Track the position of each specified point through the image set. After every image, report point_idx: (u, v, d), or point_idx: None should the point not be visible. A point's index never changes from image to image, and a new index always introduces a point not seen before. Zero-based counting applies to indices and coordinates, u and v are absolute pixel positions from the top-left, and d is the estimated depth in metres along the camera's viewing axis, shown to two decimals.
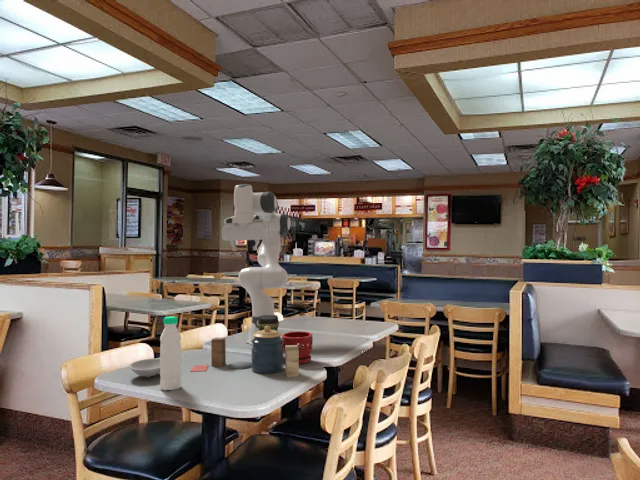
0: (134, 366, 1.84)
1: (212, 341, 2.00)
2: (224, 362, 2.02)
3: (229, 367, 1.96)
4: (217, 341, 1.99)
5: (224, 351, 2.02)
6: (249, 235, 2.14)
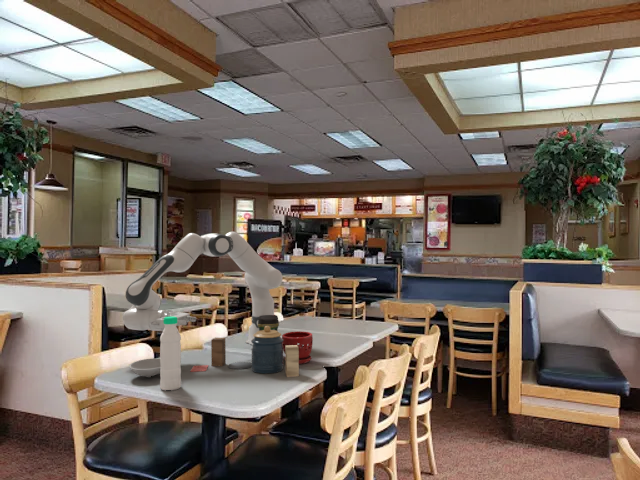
0: (134, 366, 1.84)
1: (212, 341, 2.00)
2: (224, 362, 2.02)
3: (229, 367, 1.96)
4: (217, 341, 1.99)
5: (224, 351, 2.02)
6: None
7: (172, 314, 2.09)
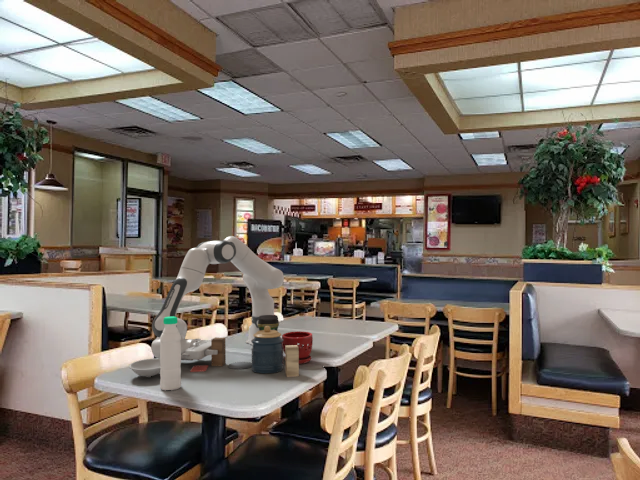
0: (134, 366, 1.84)
1: (212, 341, 2.00)
2: (224, 362, 2.02)
3: (229, 367, 1.96)
4: (217, 341, 1.99)
5: (224, 351, 2.02)
6: None
7: (200, 343, 2.07)
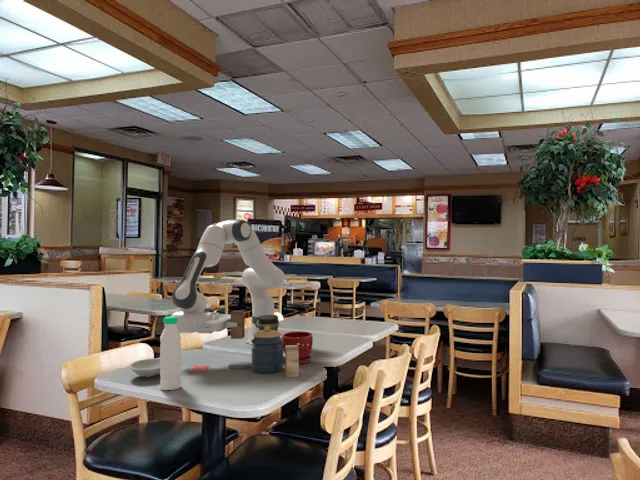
0: (134, 366, 1.84)
1: (231, 314, 1.98)
2: (243, 335, 2.00)
3: (229, 367, 1.96)
4: (236, 313, 1.98)
5: (243, 324, 2.01)
6: None
7: (219, 316, 2.05)
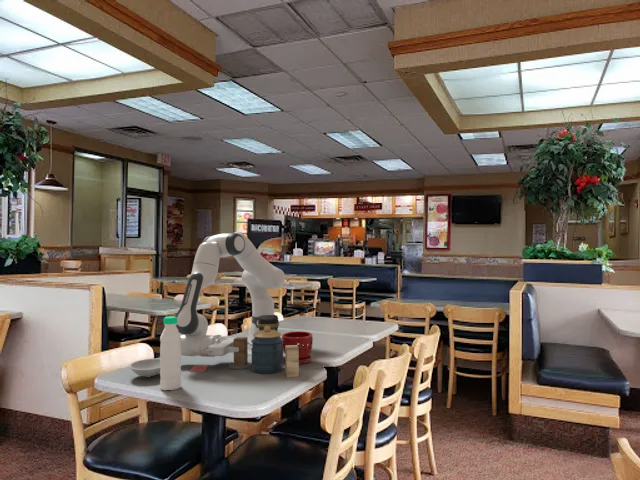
0: (134, 366, 1.84)
1: (234, 340, 1.97)
2: (246, 362, 2.00)
3: (229, 367, 1.96)
4: (239, 340, 1.97)
5: (246, 350, 2.00)
6: None
7: (222, 339, 2.05)
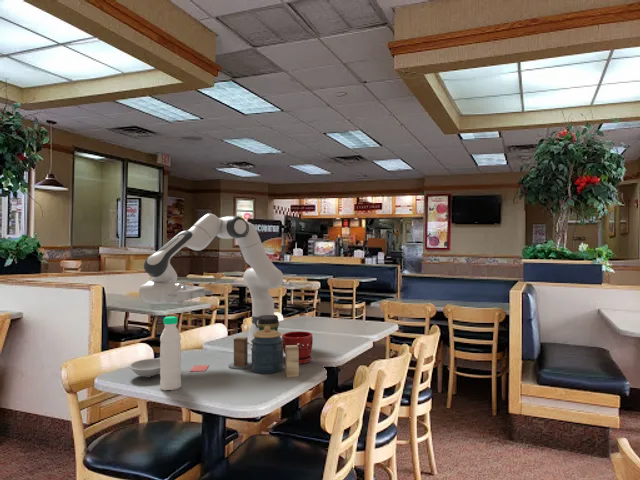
0: (134, 366, 1.84)
1: (234, 340, 1.97)
2: (246, 362, 2.00)
3: (229, 367, 1.96)
4: (239, 340, 1.97)
5: (246, 350, 2.00)
6: None
7: (188, 287, 2.07)
